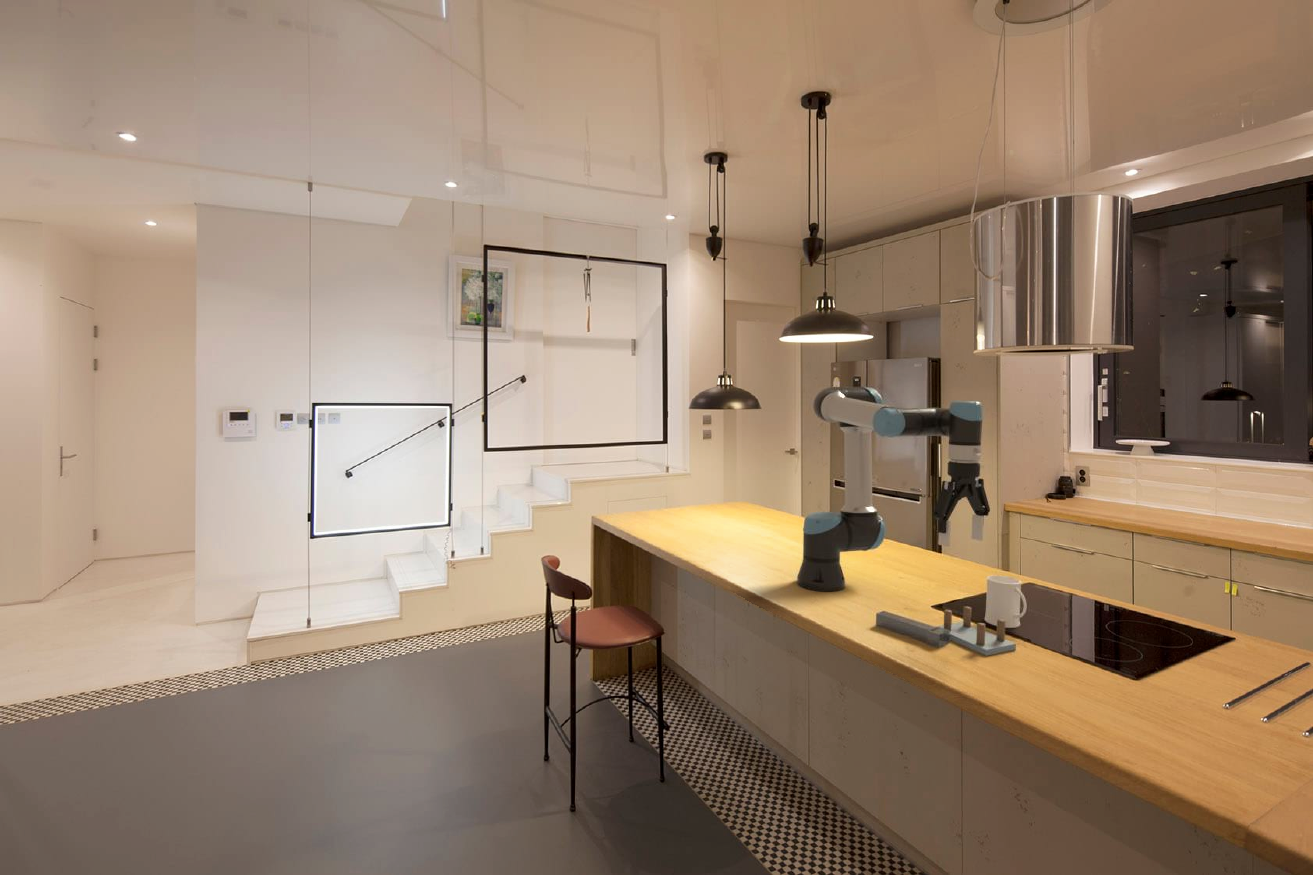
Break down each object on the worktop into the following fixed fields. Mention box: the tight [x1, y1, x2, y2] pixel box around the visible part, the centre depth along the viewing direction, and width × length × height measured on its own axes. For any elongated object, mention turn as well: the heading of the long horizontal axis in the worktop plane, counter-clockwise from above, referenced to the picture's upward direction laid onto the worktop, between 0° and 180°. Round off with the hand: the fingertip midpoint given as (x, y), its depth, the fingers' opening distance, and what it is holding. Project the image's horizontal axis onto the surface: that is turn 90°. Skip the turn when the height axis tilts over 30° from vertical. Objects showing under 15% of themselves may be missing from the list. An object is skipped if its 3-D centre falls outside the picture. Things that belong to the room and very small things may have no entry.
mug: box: [984, 574, 1028, 629], centre depth 170 cm, size 12×8×12 cm
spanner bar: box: [875, 610, 950, 649], centre depth 163 cm, size 18×5×4 cm, turn 37°
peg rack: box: [934, 606, 1017, 657], centre depth 159 cm, size 16×10×6 cm, turn 22°
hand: (960, 542), depth 163 cm, fingers open, 13 cm apart
